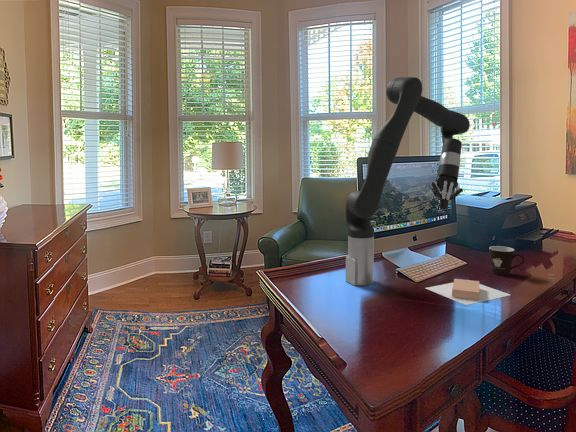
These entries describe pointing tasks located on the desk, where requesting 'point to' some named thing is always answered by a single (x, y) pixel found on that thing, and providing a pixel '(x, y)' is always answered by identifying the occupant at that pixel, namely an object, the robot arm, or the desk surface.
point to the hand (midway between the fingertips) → (442, 209)
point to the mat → (484, 295)
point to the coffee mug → (502, 260)
